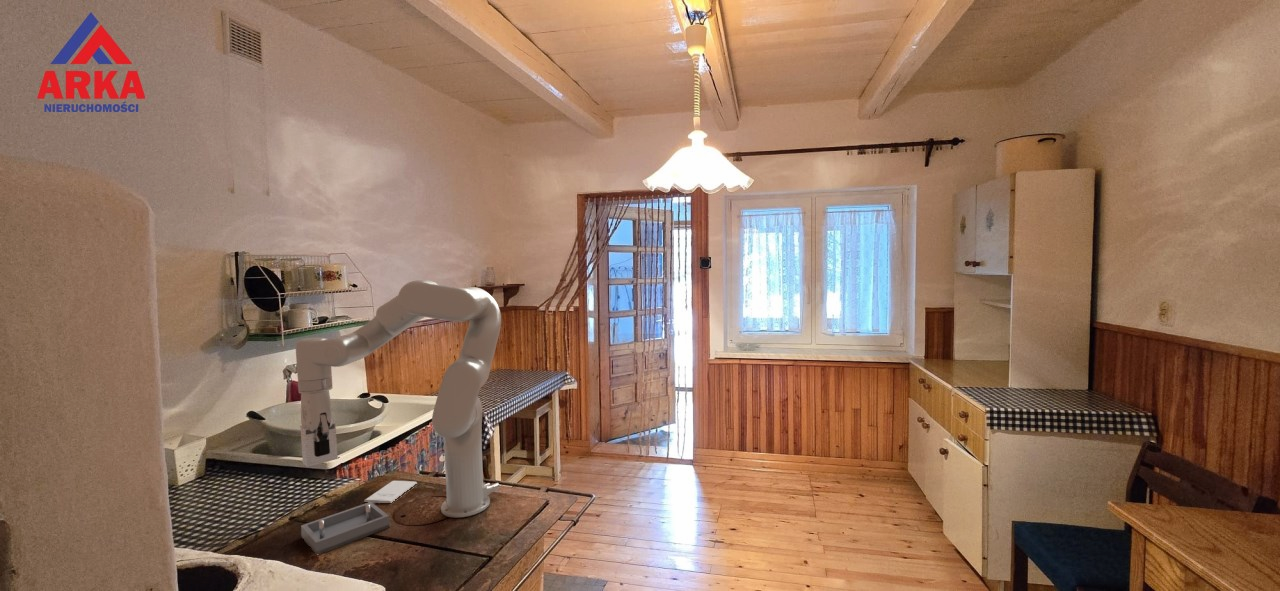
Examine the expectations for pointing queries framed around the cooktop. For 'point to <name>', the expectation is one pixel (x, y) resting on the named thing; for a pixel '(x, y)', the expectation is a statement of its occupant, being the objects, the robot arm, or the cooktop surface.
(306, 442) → the block
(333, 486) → the cooktop surface
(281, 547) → the cooktop surface
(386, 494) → the external hard drive
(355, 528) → the tray
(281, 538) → the cooktop surface
